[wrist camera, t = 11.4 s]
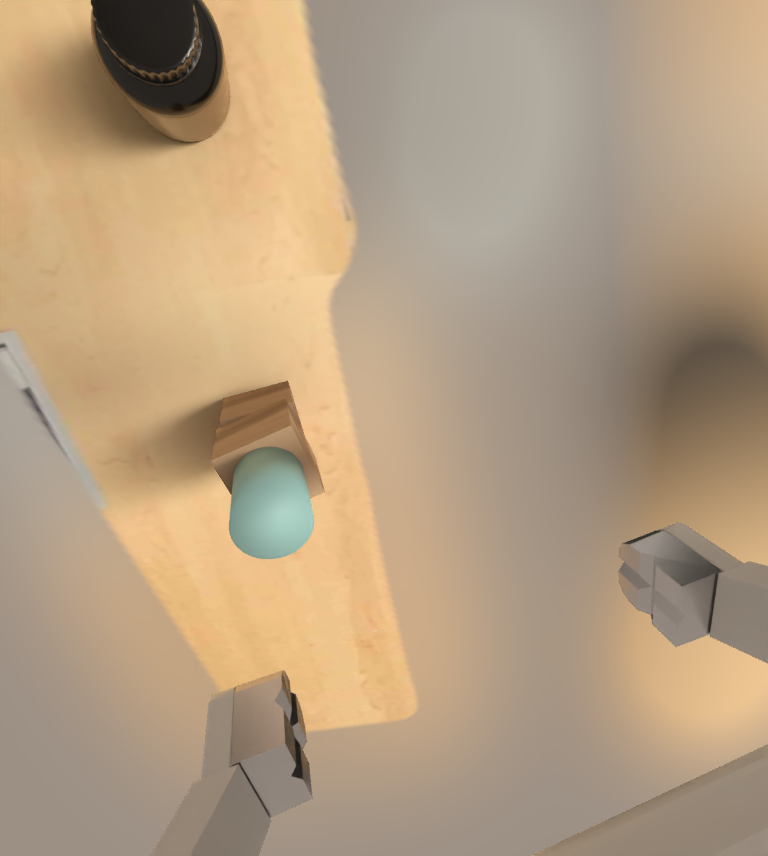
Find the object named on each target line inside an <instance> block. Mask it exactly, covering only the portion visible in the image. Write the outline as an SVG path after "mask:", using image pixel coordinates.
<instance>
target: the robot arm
mask: <svg viewBox="0 0 768 856" xmlns="http://www.w3.org/2000/svg"><path fill="white" fill-rule="evenodd" d="M619 557H620V558H621V559H622V560H623V561H624V563H623V565H622V566H621V568H620V569H619V571H618V573H619V584H620V586H621V589H622V591H623V593H624V595H625V596H626V597H627V599H628V600H629V602H630V603H631V604H632V605H633V606H634V607H635V608H636V609H637V610H639V611H642V612H645V613H648V614H650V615H651V619H652V624H653V625H654V626H655V627H656V628H657V629H658V630H659V631H660V632H661V633H662V634H663V635H664V636H665V637H666V638H667V639H668V640H669V641H670V642H671V643H672V644H673V645H674V646H675V647H677V646H680V645H683V644H685V643H688V642H691V641H693V640H696V639H699V638H701V637H704V636H706V635H709V634H710V637H712V638H714V639H716V640H718V641H720V642H723V643H725V644H727V645H729V646H731V647H733V648H736V649H738V650H740V651H742V652H744V653H747V654H749V655H751V656H753V657H755V658H758V659H760V660H762V661H764V662H766V663H768V566H765V565H762V564H758V563H754V562H746V563H742V562H741V561H739V560H738V559H736V558H735V557H733V556H732V555H730V554H729V553H727V552H726V551H724V550H723V549H721V548H720V547H718V546H717V545H715V544H714V543H712V542H711V541H709V540H708V539H706V538H705V537H703V536H702V535H700V534H699V533H697V532H696V531H694V530H693V529H691V528H689V527H688V526H686V525H685V524H682V523H675V524H672V525H670V526H667V527H664V528H662V529H659V530H656V531H653V532H650V533H648V534H645V535H643V536H640V537H638V538H635V539H633V540H630V541H627V542H625V543H622V544H621V546H620V548H619ZM306 742H307V739H306V730H305V724H304V719H303V714H302V710H301V707H300V704H299V701H298V699H297V696H296V694H294V693H291V692H290V680H289V678H288V676H287V674H286V672H285V671H279V672H276V673H274V674H271V675H268V676H265V677H262V678H259V679H256V680H253V681H250V682H247V683H244V684H241V685H239V686H236V687H234V688H231V689H228V690H225V691H222V692H219V693H217V694H214V695H212V697H211V699H210V702H209V705H208V715H207V725H206V735H205V745H204V754H203V764H202V775H201V779H199V780H196V781H194V782H193V783H192V785H191V787H190V789H189V790H188V792H187V794H186V795H185V797H184V799H183V800H182V802H181V804H180V805H179V807H178V809H177V811H176V812H175V814H174V816H173V817H172V819H171V821H170V822H169V824H168V826H167V827H166V829H165V831H164V832H163V834H162V836H161V838H160V839H159V841H158V843H157V844H156V846H155V848H154V849H153V851H152V853H151V854H150V856H259V853H260V851H261V848H262V845H263V842H264V840H265V837H266V834H267V831H268V828H269V825H270V823H271V820H270V818H271V817H273V816H275V815H278V814H280V813H282V812H284V811H287V810H289V809H291V808H293V807H295V806H298V805H300V804H302V803H304V802H306V801H308V800H311V799H312V788H311V779H310V767H309V762H308V760H307V758H306V756H305V754H304V751H303V748H304V746H305V744H306ZM531 856H768V744H767V745H765V746H763V747H761V748H759V749H757V750H755V751H753V752H750V753H748V754H746V755H744V756H742V757H740V758H737V759H735V760H733V761H731V762H729V763H727V764H725V765H723V766H721V767H718V768H716V769H714V770H712V771H710V772H708V773H706V774H703V775H701V776H699V777H697V778H695V779H693V780H691V781H688V782H686V783H684V784H682V785H680V786H678V787H676V788H673V789H671V790H669V791H667V792H665V793H663V794H661V795H659V796H656V797H655V798H652V799H650V800H648V801H646V802H644V803H641V804H639V805H637V806H635V807H633V808H631V809H629V810H627V811H625V812H622V813H620V814H618V815H616V816H614V817H612V818H609V819H608V820H605V821H603V822H601V823H599V824H597V825H595V826H593V827H590V828H588V829H586V830H584V831H582V832H580V833H577V834H575V835H573V836H571V837H569V838H567V839H565V840H563V841H560V842H558V843H556V844H554V845H552V846H550V847H548V848H546V849H544V850H541V851H539V852H537V853H535V854H533V855H531Z"/></svg>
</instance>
